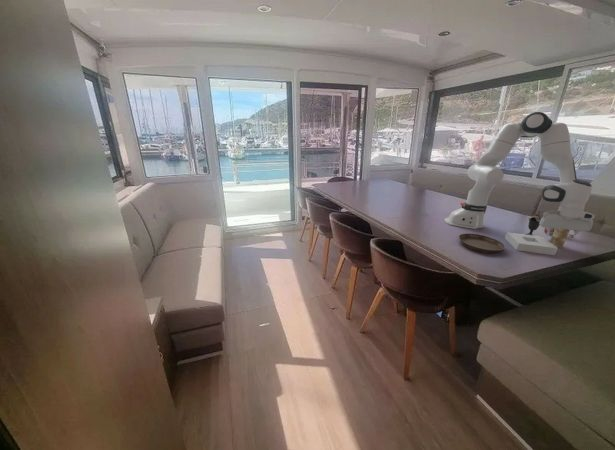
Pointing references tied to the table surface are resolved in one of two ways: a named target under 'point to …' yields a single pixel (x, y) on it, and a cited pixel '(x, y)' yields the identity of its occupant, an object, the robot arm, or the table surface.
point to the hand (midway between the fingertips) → (559, 236)
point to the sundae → (533, 223)
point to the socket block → (531, 243)
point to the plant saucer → (481, 243)
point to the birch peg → (559, 237)
